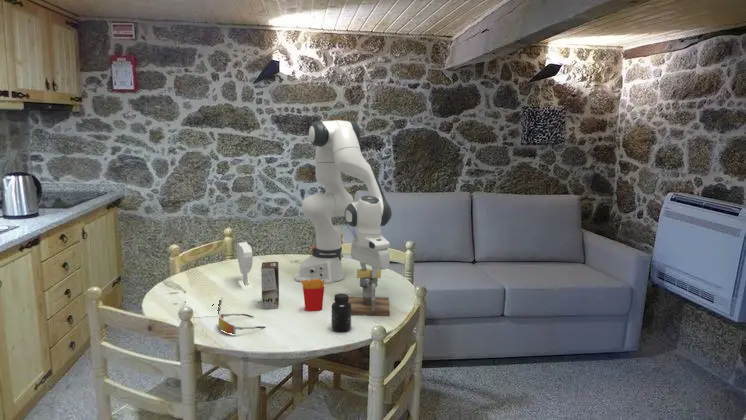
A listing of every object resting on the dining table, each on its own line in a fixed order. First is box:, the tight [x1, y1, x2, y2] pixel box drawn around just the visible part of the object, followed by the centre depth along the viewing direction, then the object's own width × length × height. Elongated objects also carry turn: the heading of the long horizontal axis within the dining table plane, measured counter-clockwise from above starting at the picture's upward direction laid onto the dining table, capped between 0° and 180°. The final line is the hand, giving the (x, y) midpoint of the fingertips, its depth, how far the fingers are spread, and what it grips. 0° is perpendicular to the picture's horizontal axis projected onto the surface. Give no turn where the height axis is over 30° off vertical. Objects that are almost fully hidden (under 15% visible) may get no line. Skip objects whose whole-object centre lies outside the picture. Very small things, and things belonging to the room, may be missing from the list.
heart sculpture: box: [236, 241, 254, 286], centre depth 214 cm, size 16×5×18 cm, turn 26°
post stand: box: [348, 282, 391, 317], centre depth 190 cm, size 14×16×12 cm
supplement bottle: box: [330, 293, 352, 333], centre depth 171 cm, size 7×7×12 cm
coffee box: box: [260, 261, 280, 310], centre depth 192 cm, size 9×6×16 cm
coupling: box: [356, 268, 382, 290], centre depth 187 cm, size 9×10×6 cm
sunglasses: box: [218, 313, 266, 335], centre depth 172 cm, size 14×15×5 cm
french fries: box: [301, 279, 325, 312], centre depth 188 cm, size 8×4×12 cm, turn 99°
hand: (368, 275), depth 189 cm, fingers closed on coupling, 4 cm apart
